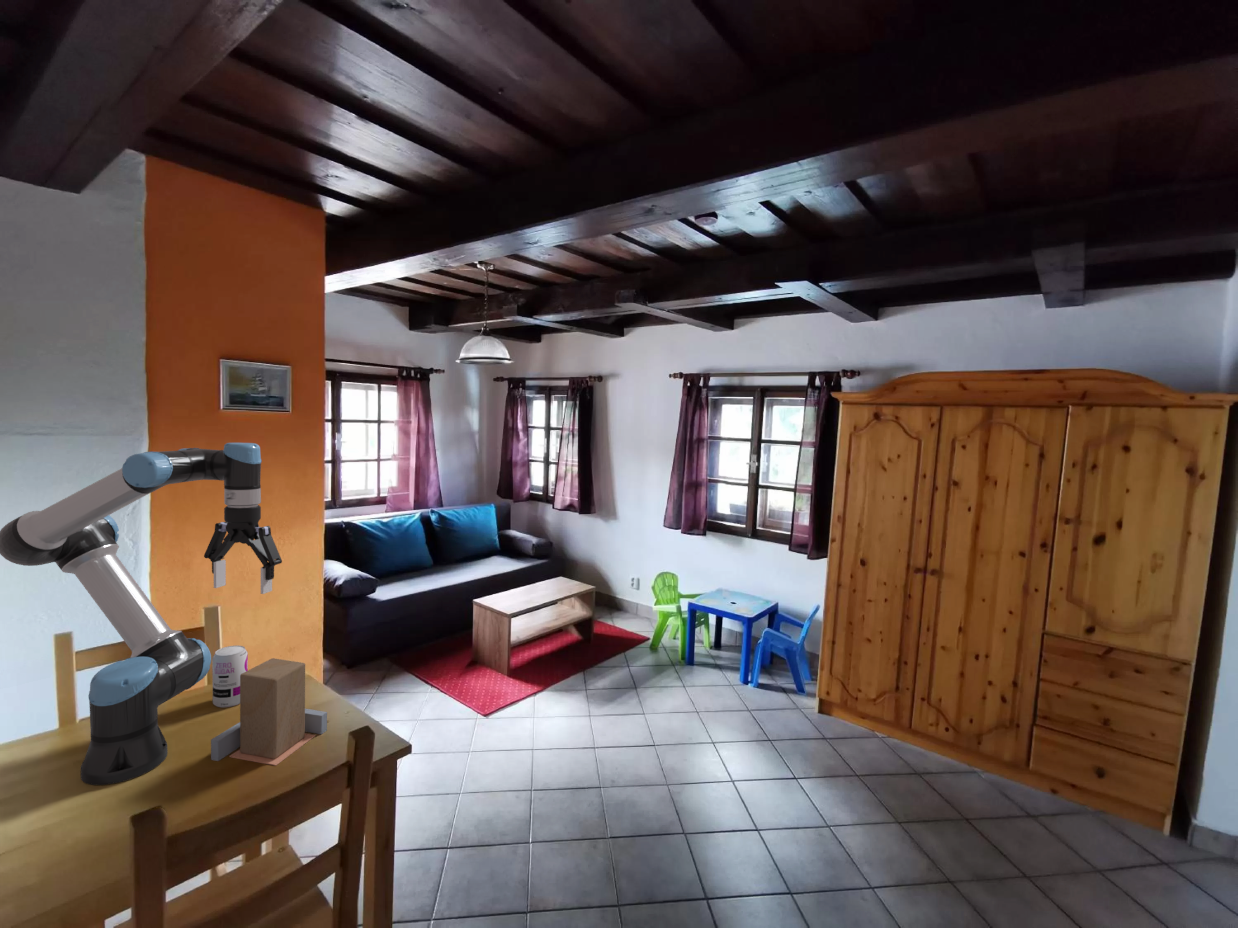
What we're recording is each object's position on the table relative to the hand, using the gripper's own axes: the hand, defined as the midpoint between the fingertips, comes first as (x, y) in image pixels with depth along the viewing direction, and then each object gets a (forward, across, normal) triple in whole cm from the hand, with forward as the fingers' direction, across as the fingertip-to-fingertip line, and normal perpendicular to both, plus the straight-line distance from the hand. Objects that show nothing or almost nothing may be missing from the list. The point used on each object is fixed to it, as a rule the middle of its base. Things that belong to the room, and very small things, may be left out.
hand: (242, 589), depth 140 cm
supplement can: (+39, -18, +14) cm, 45 cm away
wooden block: (+39, +10, -1) cm, 40 cm away
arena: (+39, +8, -1) cm, 40 cm away
